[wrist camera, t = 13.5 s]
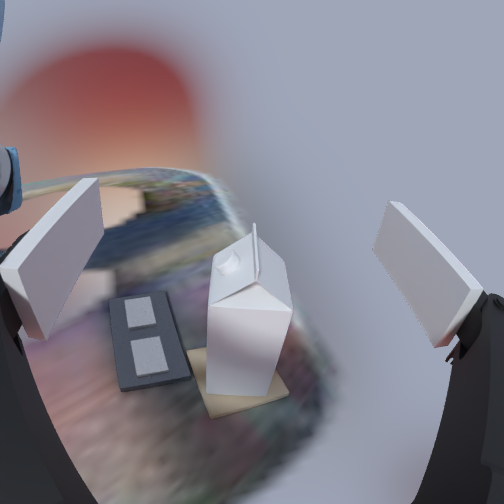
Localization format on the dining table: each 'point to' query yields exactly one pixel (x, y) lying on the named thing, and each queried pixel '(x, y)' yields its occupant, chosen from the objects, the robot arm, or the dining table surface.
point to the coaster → (230, 403)
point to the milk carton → (246, 318)
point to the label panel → (146, 342)
